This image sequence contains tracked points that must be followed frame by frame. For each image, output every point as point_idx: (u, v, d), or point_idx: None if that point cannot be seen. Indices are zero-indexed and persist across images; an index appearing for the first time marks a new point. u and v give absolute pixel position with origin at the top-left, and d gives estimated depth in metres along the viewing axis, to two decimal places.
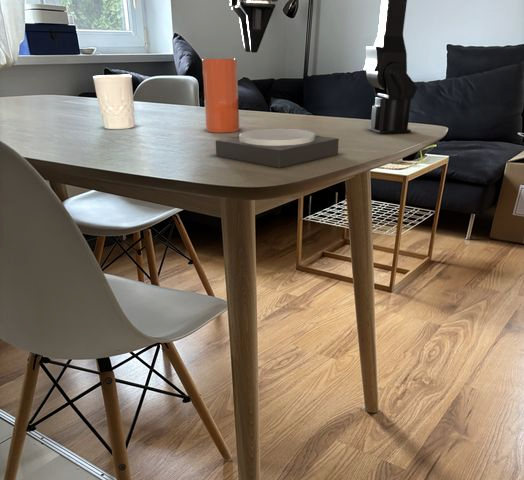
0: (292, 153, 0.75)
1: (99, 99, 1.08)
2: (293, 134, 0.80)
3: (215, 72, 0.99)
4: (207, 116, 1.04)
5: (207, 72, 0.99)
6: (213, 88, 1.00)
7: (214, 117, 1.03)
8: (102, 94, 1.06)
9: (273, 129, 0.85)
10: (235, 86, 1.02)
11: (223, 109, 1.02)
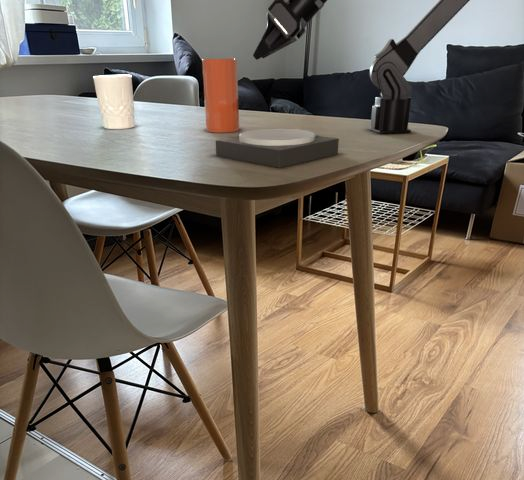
0: (292, 153, 0.75)
1: (99, 99, 1.08)
2: (293, 134, 0.80)
3: (215, 72, 0.99)
4: (207, 116, 1.04)
5: (207, 72, 0.99)
6: (213, 88, 1.00)
7: (214, 117, 1.03)
8: (102, 94, 1.06)
9: (273, 129, 0.85)
10: (235, 86, 1.02)
11: (223, 109, 1.02)
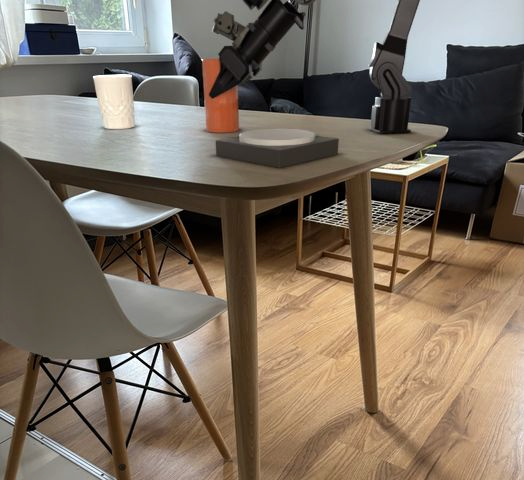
0: (292, 153, 0.75)
1: (99, 99, 1.08)
2: (293, 134, 0.80)
3: (215, 72, 0.99)
4: (207, 116, 1.04)
5: (207, 72, 0.99)
6: None
7: (214, 117, 1.03)
8: (102, 94, 1.06)
9: (273, 129, 0.85)
10: (235, 86, 1.02)
11: (223, 109, 1.02)
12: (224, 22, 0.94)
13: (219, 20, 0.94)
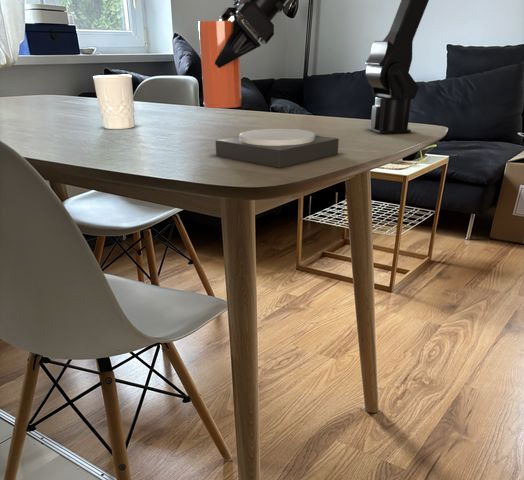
0: (292, 153, 0.75)
1: (99, 99, 1.08)
2: (293, 134, 0.80)
3: (221, 36, 0.84)
4: (209, 89, 0.89)
5: (211, 36, 0.85)
6: None
7: (220, 90, 0.89)
8: (102, 94, 1.06)
9: (273, 129, 0.85)
10: None
11: (230, 80, 0.88)
12: None
13: None
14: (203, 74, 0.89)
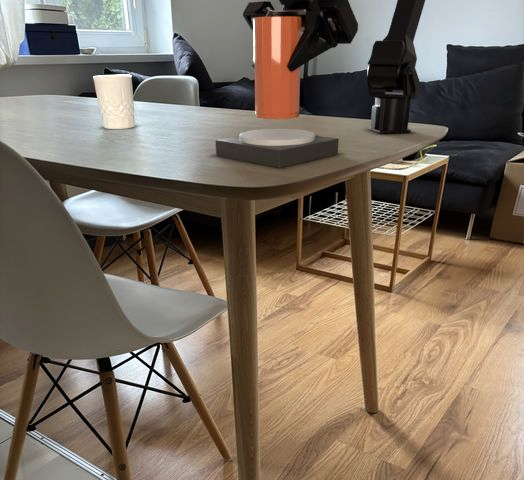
0: (292, 153, 0.75)
1: (99, 99, 1.08)
2: (293, 134, 0.80)
3: (294, 34, 0.72)
4: (276, 98, 0.75)
5: (282, 35, 0.71)
6: None
7: (289, 98, 0.76)
8: (102, 94, 1.06)
9: (273, 129, 0.85)
10: None
11: (297, 86, 0.76)
12: None
13: None
14: (266, 80, 0.74)
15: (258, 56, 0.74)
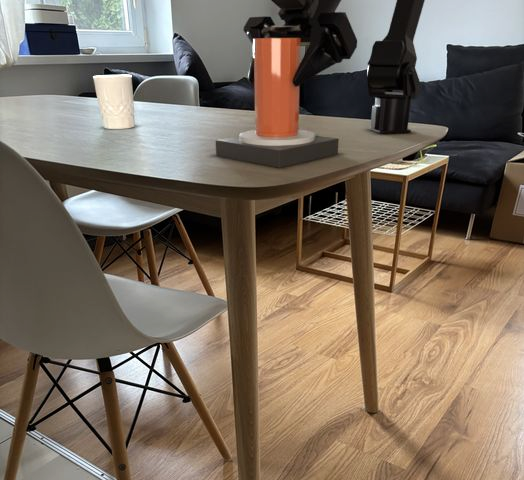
0: (292, 153, 0.75)
1: (99, 99, 1.08)
2: None
3: (293, 55, 0.73)
4: (276, 116, 0.77)
5: (282, 55, 0.73)
6: (290, 77, 0.74)
7: (289, 117, 0.77)
8: (102, 94, 1.06)
9: None
10: None
11: (297, 104, 0.77)
12: None
13: None
14: (266, 99, 0.76)
15: (258, 76, 0.75)
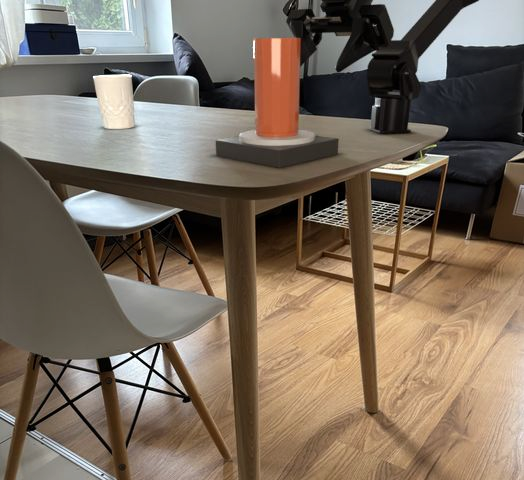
0: (292, 153, 0.75)
1: (99, 99, 1.08)
2: None
3: (293, 55, 0.73)
4: (276, 116, 0.77)
5: (282, 55, 0.73)
6: (290, 77, 0.74)
7: (289, 117, 0.77)
8: (102, 94, 1.06)
9: None
10: None
11: (297, 104, 0.77)
12: None
13: None
14: (266, 99, 0.76)
15: (258, 76, 0.75)
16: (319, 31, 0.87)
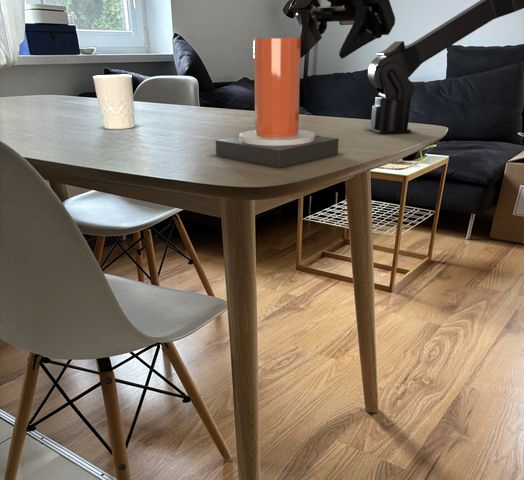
0: (292, 153, 0.75)
1: (99, 99, 1.08)
2: None
3: (293, 55, 0.73)
4: (276, 116, 0.77)
5: (282, 55, 0.73)
6: (290, 77, 0.74)
7: (289, 117, 0.77)
8: (102, 94, 1.06)
9: None
10: None
11: (297, 104, 0.77)
12: None
13: None
14: (266, 99, 0.76)
15: (258, 76, 0.75)
16: (324, 20, 0.91)
